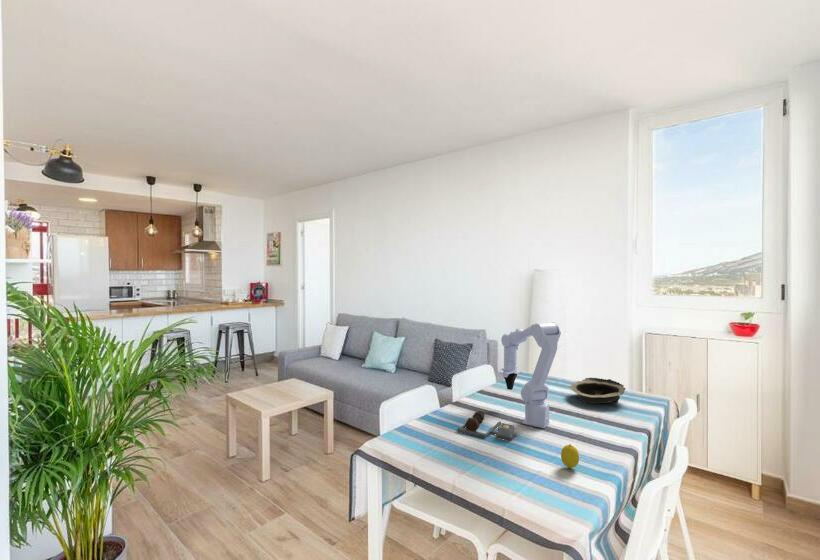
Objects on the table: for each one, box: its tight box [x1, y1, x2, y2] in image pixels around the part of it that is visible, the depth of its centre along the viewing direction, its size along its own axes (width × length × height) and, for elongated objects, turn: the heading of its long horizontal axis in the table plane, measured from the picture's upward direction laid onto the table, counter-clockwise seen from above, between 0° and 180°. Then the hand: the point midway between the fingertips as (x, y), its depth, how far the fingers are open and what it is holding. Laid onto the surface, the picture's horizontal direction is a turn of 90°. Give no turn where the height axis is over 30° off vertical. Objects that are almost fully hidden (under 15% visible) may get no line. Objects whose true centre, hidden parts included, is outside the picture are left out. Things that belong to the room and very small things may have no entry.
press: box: [456, 421, 517, 442], centre depth 162 cm, size 21×17×4 cm
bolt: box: [464, 410, 485, 432], centre depth 168 cm, size 6×5×15 cm
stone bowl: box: [569, 377, 626, 405], centre depth 197 cm, size 25×25×9 cm
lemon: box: [560, 443, 580, 470], centre depth 132 cm, size 6×6×8 cm
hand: (509, 389), depth 186 cm, fingers closed
